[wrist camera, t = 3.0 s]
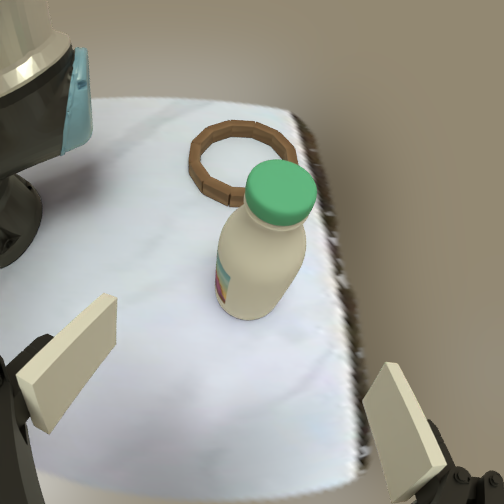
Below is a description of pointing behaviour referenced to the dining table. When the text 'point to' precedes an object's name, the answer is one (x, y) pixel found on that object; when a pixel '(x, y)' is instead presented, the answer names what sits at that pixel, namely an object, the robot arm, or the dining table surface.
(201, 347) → the dining table surface
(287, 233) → the milk bottle
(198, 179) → the walnut ring
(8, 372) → the robot arm
